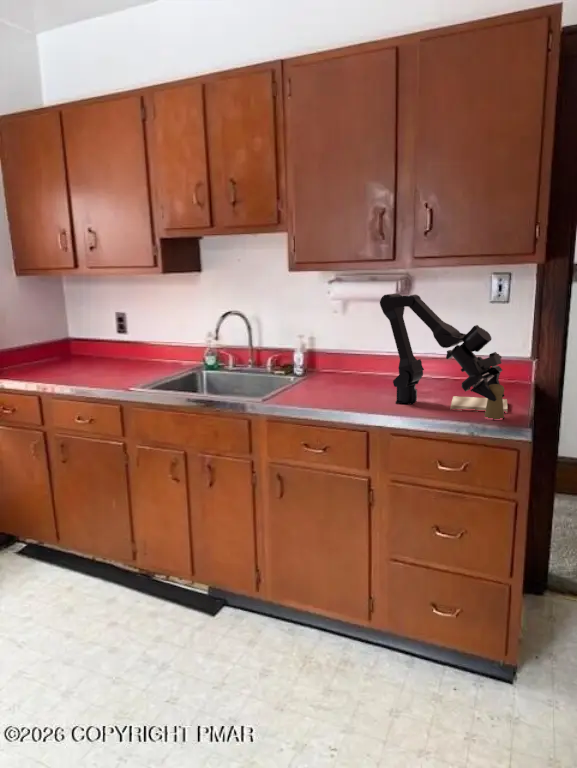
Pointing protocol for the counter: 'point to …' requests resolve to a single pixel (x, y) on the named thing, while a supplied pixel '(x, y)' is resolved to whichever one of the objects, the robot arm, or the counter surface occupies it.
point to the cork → (495, 403)
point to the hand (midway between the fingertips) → (499, 398)
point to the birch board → (472, 403)
